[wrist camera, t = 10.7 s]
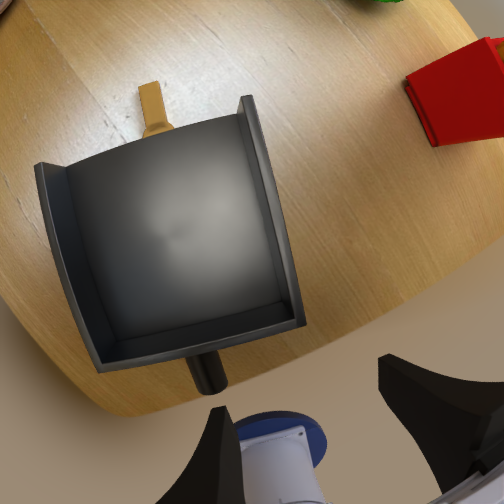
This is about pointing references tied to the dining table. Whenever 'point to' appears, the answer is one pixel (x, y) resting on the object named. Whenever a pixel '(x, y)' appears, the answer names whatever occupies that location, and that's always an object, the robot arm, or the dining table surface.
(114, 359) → the grey sheet metal tray
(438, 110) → the french fries container
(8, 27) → the dining table surface
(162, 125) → the spoon
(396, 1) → the ornament
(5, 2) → the alarm clock
